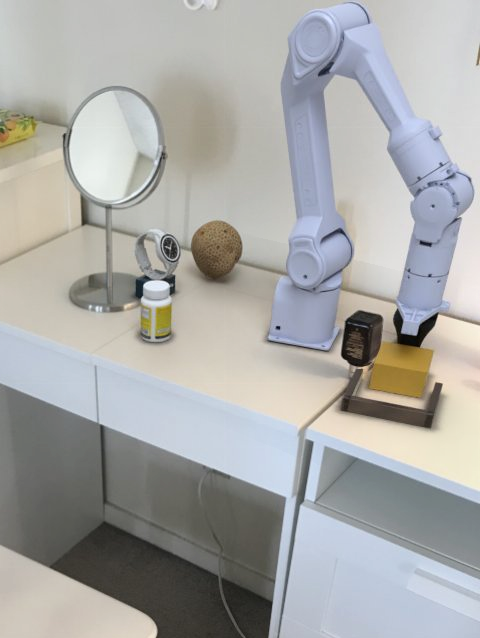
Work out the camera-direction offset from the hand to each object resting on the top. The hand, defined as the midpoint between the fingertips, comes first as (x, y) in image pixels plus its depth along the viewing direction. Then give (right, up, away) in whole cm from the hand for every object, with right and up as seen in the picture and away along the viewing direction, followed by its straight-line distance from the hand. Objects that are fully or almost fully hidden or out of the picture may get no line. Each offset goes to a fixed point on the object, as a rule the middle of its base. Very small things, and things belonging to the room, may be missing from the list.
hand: (405, 360), depth 118 cm
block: (-2, -4, -3) cm, 5 cm away
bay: (-5, -7, -7) cm, 11 cm away
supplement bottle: (-35, +5, +10) cm, 37 cm away
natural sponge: (-24, +20, +28) cm, 42 cm away
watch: (-35, +15, +23) cm, 44 cm away
